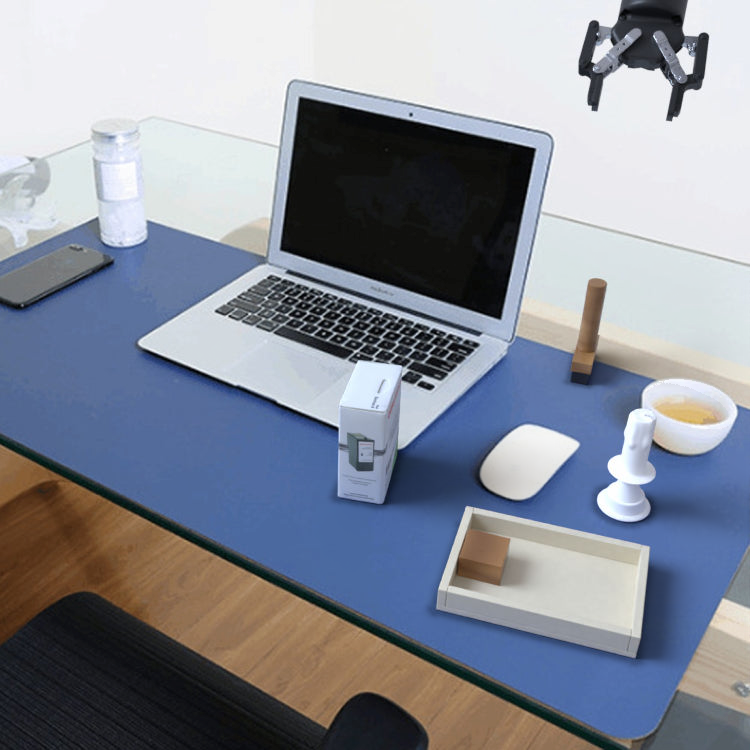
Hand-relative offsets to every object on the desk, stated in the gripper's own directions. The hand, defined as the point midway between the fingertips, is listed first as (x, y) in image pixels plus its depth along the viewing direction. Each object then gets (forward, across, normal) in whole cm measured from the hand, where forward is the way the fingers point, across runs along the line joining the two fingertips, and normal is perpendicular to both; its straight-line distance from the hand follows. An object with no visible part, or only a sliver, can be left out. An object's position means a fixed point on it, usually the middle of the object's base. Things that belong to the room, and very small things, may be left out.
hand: (631, 113), depth 115 cm
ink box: (+48, -19, -7) cm, 52 cm away
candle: (+45, +7, -4) cm, 46 cm away
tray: (+55, +1, -14) cm, 57 cm away
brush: (+28, 0, +13) cm, 31 cm away
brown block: (+54, -5, -14) cm, 56 cm away
